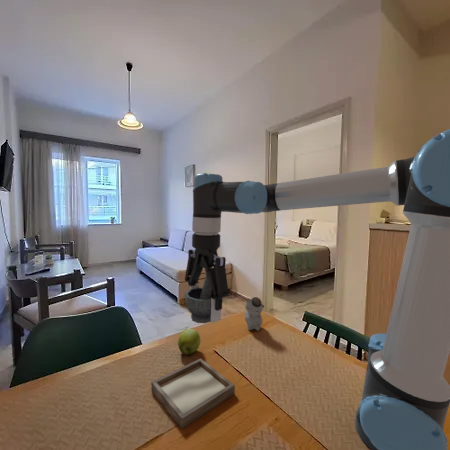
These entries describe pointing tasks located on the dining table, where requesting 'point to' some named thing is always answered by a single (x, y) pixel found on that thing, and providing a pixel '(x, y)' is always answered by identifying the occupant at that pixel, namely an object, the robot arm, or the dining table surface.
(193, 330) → the apple
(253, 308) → the figurine
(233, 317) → the dining table surface
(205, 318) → the mortar and pestle
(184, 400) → the grey sand tray
